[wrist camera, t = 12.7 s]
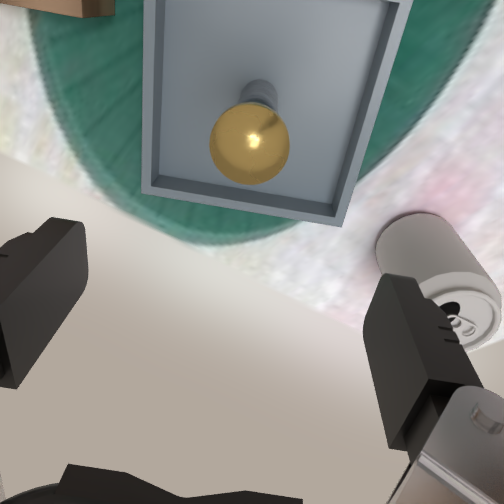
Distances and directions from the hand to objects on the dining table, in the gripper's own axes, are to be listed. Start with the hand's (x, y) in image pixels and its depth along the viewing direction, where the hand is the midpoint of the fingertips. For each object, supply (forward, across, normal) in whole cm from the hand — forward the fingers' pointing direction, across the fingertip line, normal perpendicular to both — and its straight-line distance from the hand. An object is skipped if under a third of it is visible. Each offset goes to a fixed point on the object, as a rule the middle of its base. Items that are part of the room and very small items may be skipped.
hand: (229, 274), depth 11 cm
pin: (+25, 0, +1) cm, 25 cm away
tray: (+26, 0, +1) cm, 26 cm away
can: (+26, -17, +12) cm, 33 cm away
